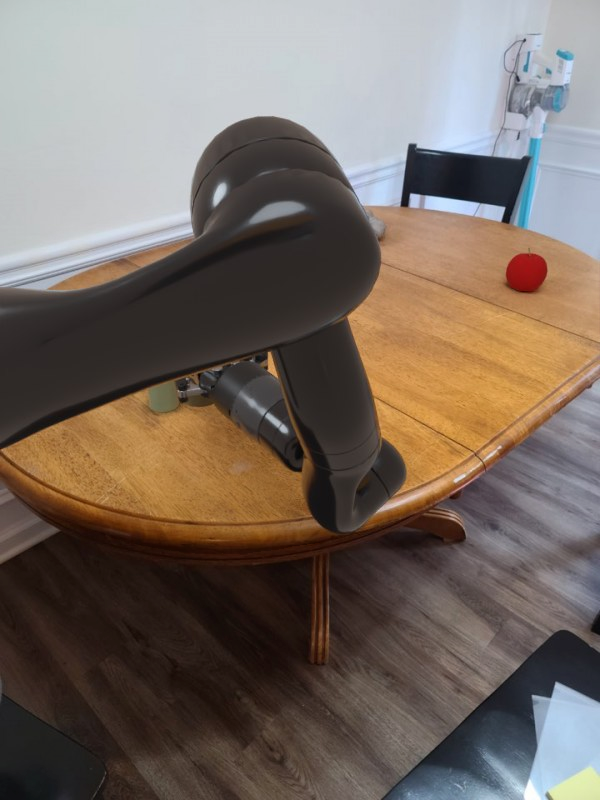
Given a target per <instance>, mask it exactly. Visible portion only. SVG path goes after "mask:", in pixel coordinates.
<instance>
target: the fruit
mask: <svg viewBox="0 0 600 800" xmlns="http://www.w3.org/2000/svg"><path fill="white" fill-rule="evenodd" d="M527 250H528V253H527V252H526V253H517V254H516V255H514V256H513V257H512V258H511V259H510V260H509V262H508V264H507V266H506V270H505V279H506V282H507V284H508V285H509V287H510V288H512V289H514V290H517V291H519V292H529V293H531V292H534V291H536V290H537V289H538V288H539V287H541V286H542V284H543V283H544V282H545V281H546V278H547V276H548V271H549V270H548V264H547V262H546V259H545V258H544V257H543V256H541V255H539V254H537V253H532V252H531V247H528V248H527Z"/></svg>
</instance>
